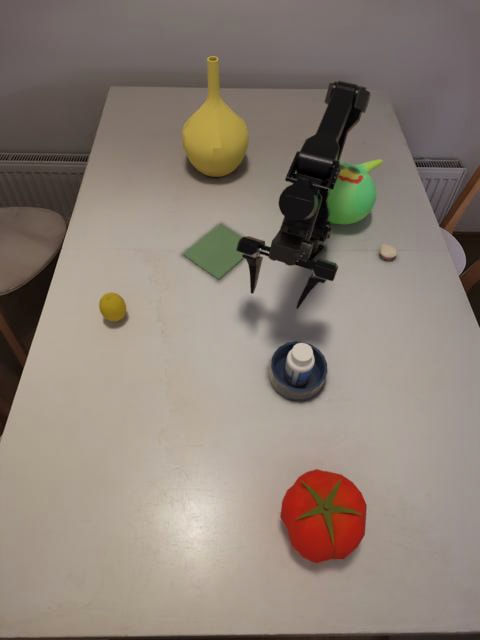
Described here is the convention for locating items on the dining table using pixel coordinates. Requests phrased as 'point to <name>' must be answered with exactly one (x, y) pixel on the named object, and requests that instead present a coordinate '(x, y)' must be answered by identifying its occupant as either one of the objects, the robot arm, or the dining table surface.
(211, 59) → the vase
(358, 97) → the robot arm
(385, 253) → the macaroon
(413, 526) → the dining table surface
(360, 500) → the tomato
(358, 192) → the toy bird
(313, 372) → the shallow round bowl
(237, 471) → the dining table surface
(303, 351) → the pill bottle
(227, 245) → the towel
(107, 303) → the lemon
